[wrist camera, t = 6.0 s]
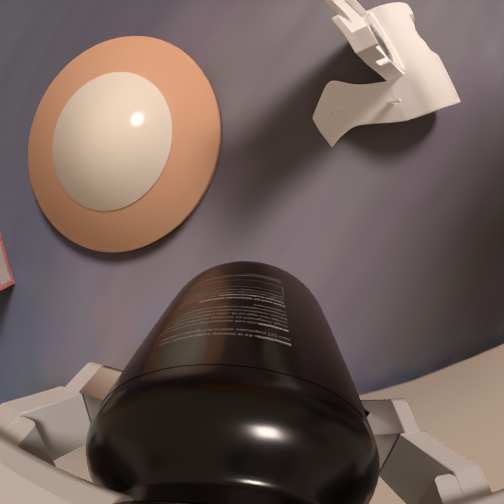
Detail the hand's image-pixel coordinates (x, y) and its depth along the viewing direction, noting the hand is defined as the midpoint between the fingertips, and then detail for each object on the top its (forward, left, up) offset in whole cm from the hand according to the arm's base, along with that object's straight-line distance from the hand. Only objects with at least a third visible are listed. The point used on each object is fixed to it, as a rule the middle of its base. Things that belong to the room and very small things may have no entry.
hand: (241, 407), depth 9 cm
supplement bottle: (0, 0, -5) cm, 5 cm away
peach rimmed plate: (+11, -9, -14) cm, 20 cm away
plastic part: (-6, -14, -15) cm, 21 cm away
